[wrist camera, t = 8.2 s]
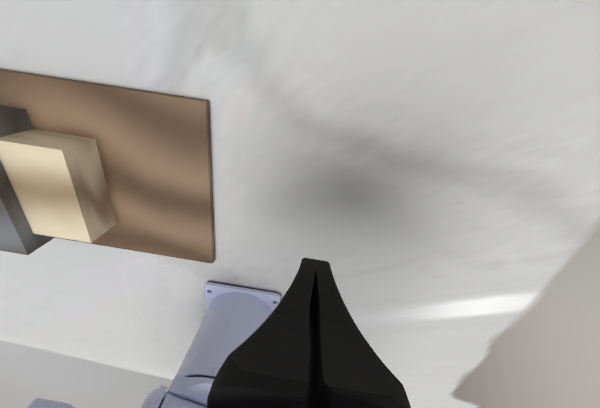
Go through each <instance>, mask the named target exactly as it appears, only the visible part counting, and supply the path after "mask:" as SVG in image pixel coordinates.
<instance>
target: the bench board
mask: <svg viewBox="0 0 600 408" xmlns="http://www.w3.org/2000/svg"><path fill="white" fill-rule="evenodd" d="M32 129H36V130H43V131H49V132H56V133H62V134H68V135H75V136H81V137H88V138H94V139H96V143H97V147H98V151H99V155H100V159H101V163H102V167H103V171H104V175H105V179H106V183H107V187H108V191H109V195H110V199H111V203H112V207H113V211H114V215H115V219H116V224H115V225H114V226H113V227H111V228H110V229H109V230H108V231H106V232H105V233H104V234H102V235H101V236H100V237H99V238H97V239H96V240H95V241H93V242H92V243H91V244H97V245H103V246H109V247H115V248H122V249H128V250H134V251H140V252H146V253H152V254H158V255H164V256H170V257H176V258H182V259H188V260H195V261H201V262H207V263H213V262H214V260H215V247H214V220H213V193H212V165H211V138H210V111H209V101H208V100H201V99H195V98H188V97H181V96H175V95H168V94H162V93H155V92H148V91H142V90H135V89H129V88H122V87H115V86H109V85H102V84H96V83H89V82H82V81H76V80H69V79H62V78H56V77H49V76H43V75H36V74H29V73H23V72H16V71H10V70H3V69H0V137H3V136H7V135H11V134H15V133H19V132H23V131H28V130H32ZM53 238H58V237H51V236H45V235H39V234H33V232H32V230H31V227H30V225H29V223H28V221H27V218H26V216H25V214H24V212H23V209H22V207H21V205H20V203H19V200H18V198H17V196H16V194H15V191H14V189H13V187H12V185H11V182H10V180H9V178H8V176H7V173H6V171H5V169H4V166H3V164H2V162H1V160H0V250H1V251H7V252H13V253H19V254H25V255H29V254H30V253H32V252H33V251H35V250H36V249H38V248H39V247H41V246H42V245H44V244H45V243H47V242H49V241H50V240H52V239H53ZM61 239H64V238H61ZM67 240H70V239H67ZM73 241H76V240H73ZM79 242H82V241H79ZM85 243H88V242H85Z"/></svg>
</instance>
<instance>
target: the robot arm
mask: <svg viewBox="0 0 600 408" xmlns="http://www.w3.org/2000/svg"><path fill="white" fill-rule="evenodd" d="M280 299H281V296H280V295H279V294H277V293H272V292H266V291H260V290H254V289H248V288H242V287H236V286H230V285H224V284H218V283H212V282H207V283H206V284H205V302H206V315H205V317H204V319H203V321H202V323H201V325H200V327H199V329H198V331H197V334H196V336H195V338H194V340H193V342H192V344H191V346H190V348H189V350H188V352H187V354H186V356H185V359H184V361H183V363H182V365H181V367H180V369H179V371H178V373H177V375H176V376H175V378H174V380H173V382H172V384H171V385H170V388H169V389H168V391H167V392H166V389H167V387H165V386H163V385H160V386H159V388H158V389H154V390H152V391H151V392H150V393H149V394H148V396H147V398H146V399H145V401H144V403H143V405H142V407H141V408H411V407H410V404H409V401H408V398H407V395H406V392H405V389H404V387H403V385H402V383H401V382H400V381H399V380H398V379H397V378H396V377H395V376H394V375H393V374H392V373H391V371H390V370H389V369H388V368H387V367H386V366H385V365H384V363H383V362H382V361H381V360H380V358H379V357H378V356H377V355H376V353H375V352H374V351H373V349H372V348H371V347H370V345H369V344H368V342H367V341H366V340H365V338H364V337H363V335H362V334H361V332H360V331H359V329H358V328H357V326H356V324H355V323H354V321H353V319H352V317H351V316H350V314H349V312H348V310H347V308H346V306H345V304H344V302H343V300H342V298H341V295H340V293H339V291H338V288H337V286H336V283H335V280H334V278H333V275H332V271H331V268H330V264H329V262H327V261H321V260H315V259H308V258H303V259H302V262H301V265H300V268H299V270H298V273H297V275H296V277H295V279H294V281H293V282H292V284H291V286H290V288H289V289H288V291H287V292H286V294H285V295H284V297H283V299H282V300H281V301H280ZM28 408H75V407H73V406H72V405H70V404H67V403H62V402H57V401H51V400H45V399H40V398H38V399H35V400H34V401H33V402H32V403H31V404H30V405H29V407H28Z"/></svg>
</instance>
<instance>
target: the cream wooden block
mask: <svg viewBox="0 0 600 408" xmlns="http://www.w3.org/2000/svg"><path fill="white" fill-rule="evenodd" d="M0 160H1V162H2V164H3V166H4V169H5V171H6V173H7V176H8V178H9V180H10V182H11V185H12V187H13V189H14V191H15V194H16V196H17V198H18V200H19V203H20V205H21V207H22V209H23V212H24V214H25V216H26V218H27V221H28V223H29V225H30V227H31V230H32V232H33V234H39V235H45V236H51V237H58V238H64V239H70V240H76V241H82V242H88V243H92V242H93V241H95V240H96V239H97V238H99V237H100V236H101V235H102V234H104V233H105V232H106V231H108V230H109V229H110V228H111V227H113V226H114V225H115V224H116V219H115V215H114V211H113V207H112V203H111V199H110V195H109V191H108V187H107V183H106V179H105V175H104V171H103V167H102V163H101V159H100V155H99V151H98V147H97V143H96V139H94V138H88V137H81V136H75V135H68V134H62V133H56V132H49V131H43V130H36V129H32V130H28V131H23V132H19V133H15V134H11V135H7V136H3V137H0Z"/></svg>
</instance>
